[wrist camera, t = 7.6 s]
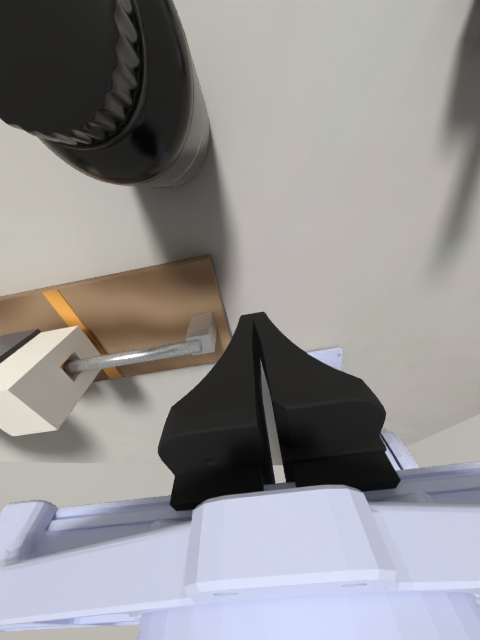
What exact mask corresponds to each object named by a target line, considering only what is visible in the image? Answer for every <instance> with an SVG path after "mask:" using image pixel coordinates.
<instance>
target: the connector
mask: <svg viewBox="0 0 480 640" xmlns="http://www.w3.org/2000/svg"><path fill="white" fill-rule="evenodd" d="M40 333H41V331H40V330H39V329H33V330H27V331H22V332H17V333H11V334H6V335H3V336H1V337H0V363H2V362H3V361H4V360H6V359H7V358H8V357H9V356H11V355H12V354H13V353H15V352H16V351H17V350H19V349H20V348H21V347H23V346H24V345H25V344H27V343H28V342H29V341H30V340H32V339H33V338H34V337H36V336H37V335H38V334H40Z"/></svg>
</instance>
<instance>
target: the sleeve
mask: <svg viewBox="0 0 480 640" xmlns="http://www.w3.org/2000/svg"><path fill="white" fill-rule="evenodd" d="M99 355H101V354H100V353H99V352H98V350H97V349H96V348H95V347H94V345H93V344H92V343H91V341H90V340H89V339H88V337H87V336H86V335H85V333H84V332H83V331H82V329H81V328H80V327H79V326H73V327H68V328H62V329H57V330H51V331H46V332H41V333H40V334H38V335H37V336H36V337H34V338H33V339H32V340H30V341H29V342H28V343H27V344H25V345H24V346H23V347H21V348H20V349H19V350H17V351H16V352H15V353H13V354H12V355H11V356H9V357H8V358H7V359H6V360H4V361H3V362H2V363H0V429H2V430H3V431H5V432H6V433H8V434H9V435H11V436H19V435H26V434H33V433H41V432H48V431H55V430H58V429H59V428H60V426H61V425H62V423H63V422H64V421H65V419H66V418H67V416H68V415H69V414H70V412H71V411H72V409H73V408H74V407H75V405H76V404H77V402H78V401H79V400H80V398H81V397H82V395H83V394H84V393H85V391H86V390H87V388H88V387H89V386H90V384H91V383H92V382H93V380H94V379H95V377H96V376H97V375H98V373H99V372H100V370H101V369H96V370H90V371H84V372H78V373H73V374H71V375H67V374H66V373H65V372H64V371H63V370H62V369H61V368H60V366H61V365H62V364H63V363H64V362H65V361H66V360H76V359H82V358H87V357H93V356H99Z"/></svg>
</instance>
